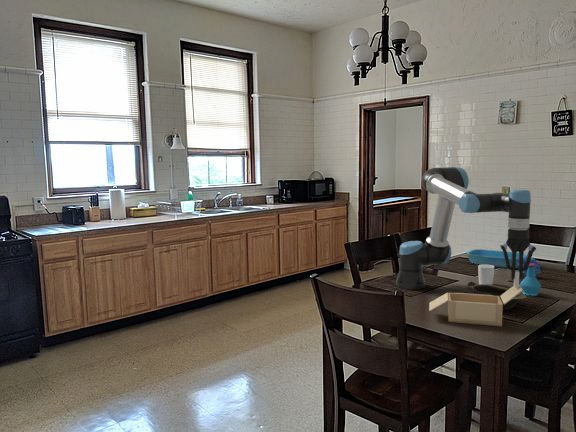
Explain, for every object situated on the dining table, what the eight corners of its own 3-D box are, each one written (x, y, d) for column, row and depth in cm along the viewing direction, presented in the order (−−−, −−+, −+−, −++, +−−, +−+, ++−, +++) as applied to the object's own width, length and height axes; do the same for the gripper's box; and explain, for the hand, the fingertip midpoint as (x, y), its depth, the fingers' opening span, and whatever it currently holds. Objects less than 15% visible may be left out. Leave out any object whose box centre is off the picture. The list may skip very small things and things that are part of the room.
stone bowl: (456, 305, 210) (457, 285, 210) (479, 297, 228) (480, 278, 227) (513, 316, 193) (515, 294, 192) (534, 307, 210) (535, 287, 210)
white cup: (495, 286, 240) (496, 267, 239) (479, 286, 242) (479, 267, 241) (491, 282, 248) (492, 264, 247) (476, 282, 250) (476, 264, 248)
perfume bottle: (529, 297, 221) (530, 266, 219) (515, 292, 230) (516, 262, 228) (545, 295, 224) (546, 265, 222) (530, 290, 232) (531, 261, 231)
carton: (448, 322, 189) (449, 301, 188) (447, 312, 201) (448, 292, 200) (502, 327, 183) (502, 305, 181) (497, 316, 195) (498, 295, 194)
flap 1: (429, 302, 202) (430, 303, 202) (429, 310, 192) (429, 311, 192) (447, 292, 199) (448, 293, 199) (448, 299, 189) (448, 300, 189)
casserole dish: (461, 263, 295) (461, 252, 294) (471, 257, 312) (471, 247, 311) (524, 271, 272) (525, 259, 272) (531, 264, 290) (532, 253, 289)
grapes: (515, 277, 259) (516, 256, 257) (517, 274, 264) (518, 254, 263) (539, 279, 252) (540, 258, 251) (540, 277, 258) (541, 256, 257)
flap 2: (522, 289, 180) (523, 290, 180) (517, 282, 190) (518, 283, 190) (503, 303, 182) (504, 304, 182) (500, 296, 193) (500, 296, 193)
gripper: (501, 229, 181) (499, 288, 184) (538, 230, 177) (536, 290, 180) (499, 226, 188) (497, 283, 191) (535, 227, 184) (532, 285, 187)
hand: (516, 286), depth 185 cm, fingers closed
